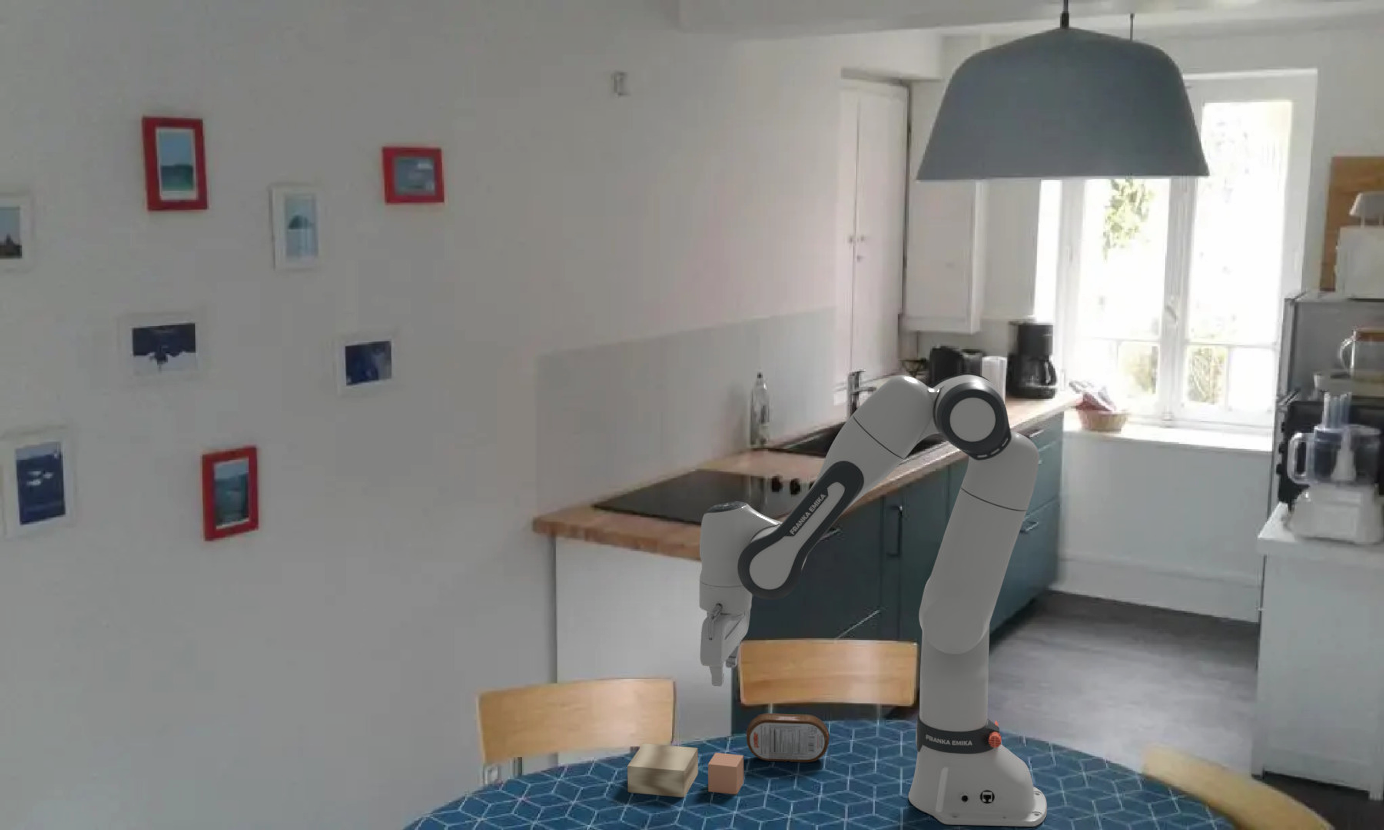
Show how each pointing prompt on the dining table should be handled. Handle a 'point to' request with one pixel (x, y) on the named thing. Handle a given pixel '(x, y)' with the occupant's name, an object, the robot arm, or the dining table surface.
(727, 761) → the cube
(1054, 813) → the dining table surface
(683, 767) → the base block
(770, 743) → the tin
